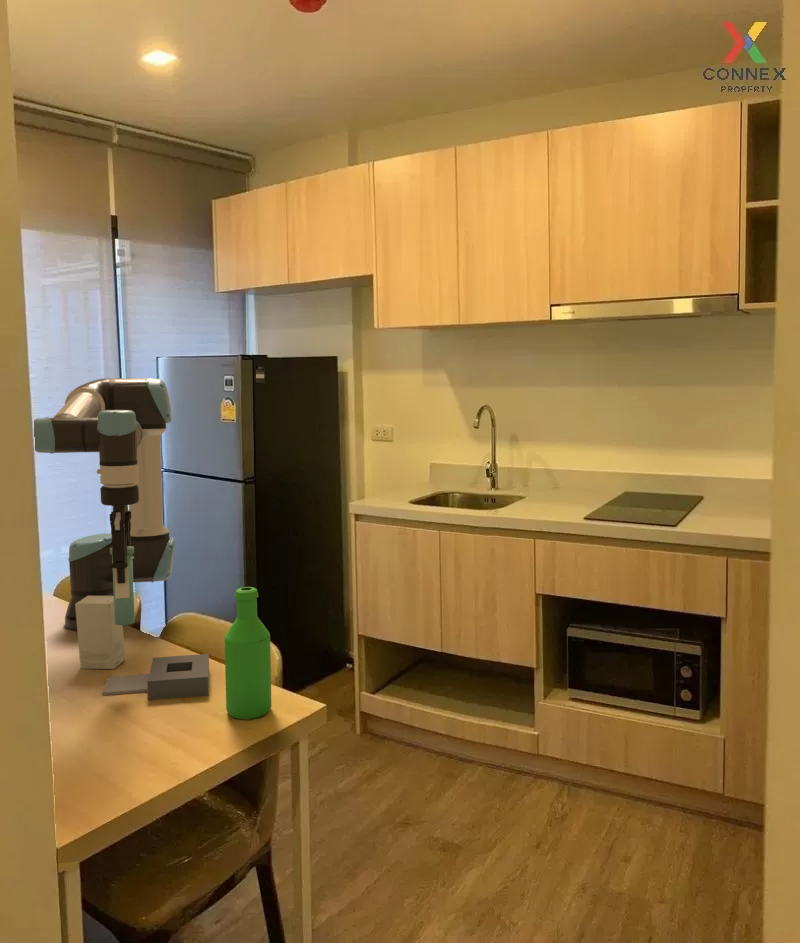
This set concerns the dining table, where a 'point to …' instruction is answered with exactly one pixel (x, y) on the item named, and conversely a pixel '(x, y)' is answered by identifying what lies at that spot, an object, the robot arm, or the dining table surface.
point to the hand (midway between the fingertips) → (123, 594)
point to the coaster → (126, 684)
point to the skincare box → (99, 633)
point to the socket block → (178, 677)
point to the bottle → (247, 660)
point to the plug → (125, 605)
